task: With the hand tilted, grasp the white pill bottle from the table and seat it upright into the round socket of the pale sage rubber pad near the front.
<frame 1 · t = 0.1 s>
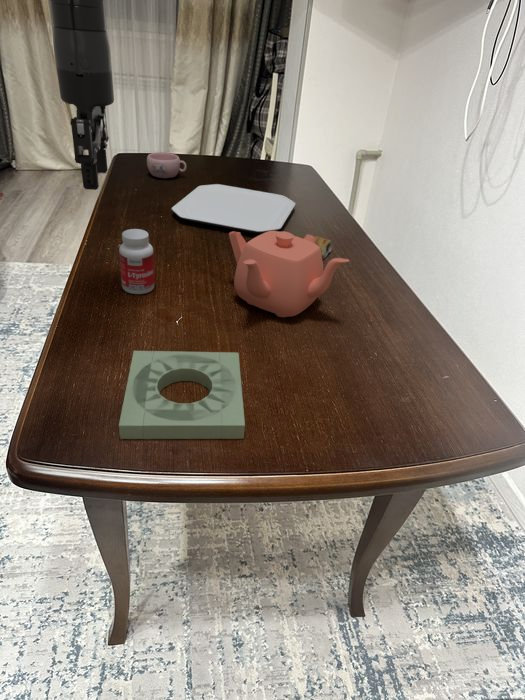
hand: (96, 180, 80), 21 cm above the table, tool pointing down, fingers open, 8 cm apart
teapot: (278, 303, 95), on the table
pastry: (312, 253, 116), on the table
mug: (167, 177, 152), on the table
plate: (235, 213, 132), on the table
socket pad: (185, 398, 71), on the table
pill bottle: (138, 288, 95), on the table
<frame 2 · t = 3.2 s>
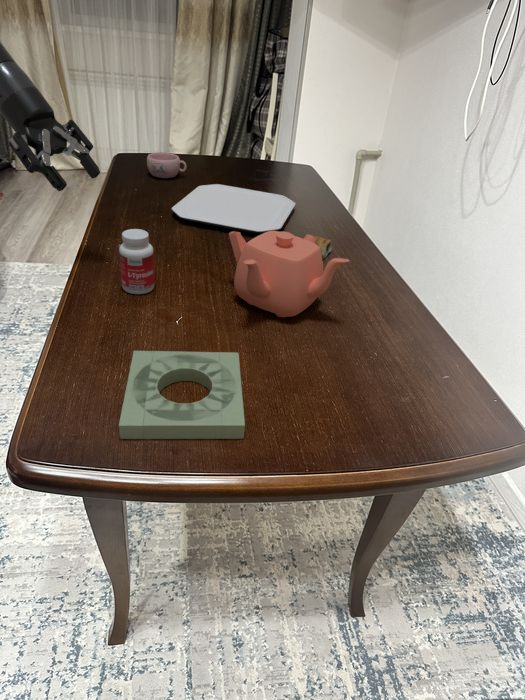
hand: (80, 181, 87), 18 cm above the table, tool tilted 45°, fingers open, 8 cm apart
nothing on the table moved.
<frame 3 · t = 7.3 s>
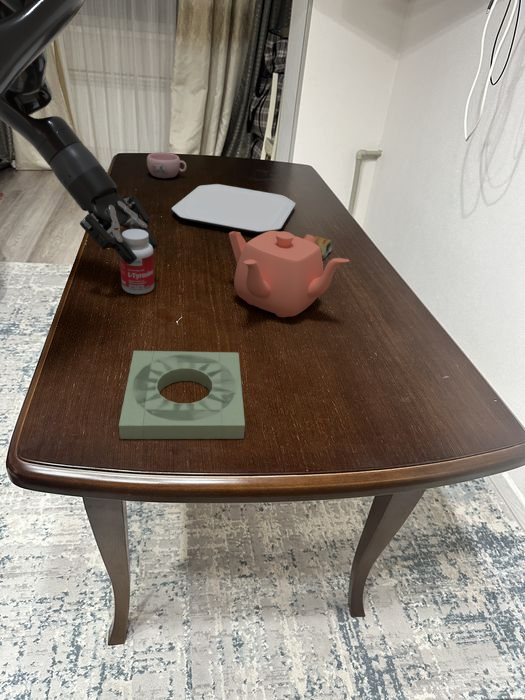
hand: (144, 254, 90), 7 cm above the table, tool tilted 45°, fingers closed on pill bottle, 6 cm apart
pill bottle: (138, 288, 95), on the table, touching gripper
everything else where it was.
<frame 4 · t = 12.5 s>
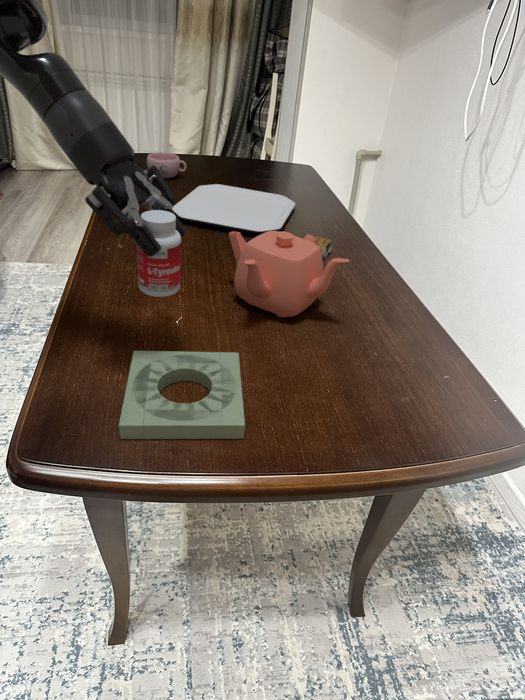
hand: (169, 244, 68), 19 cm above the table, tool tilted 45°, fingers closed on pill bottle, 6 cm apart
pill bottle: (159, 289, 73), point 11 cm above the table, touching gripper
everything else where it was.
when the fingers open (7 cm above the table, at t = 17.8 s): pill bottle stays where it is, resting in socket pad.
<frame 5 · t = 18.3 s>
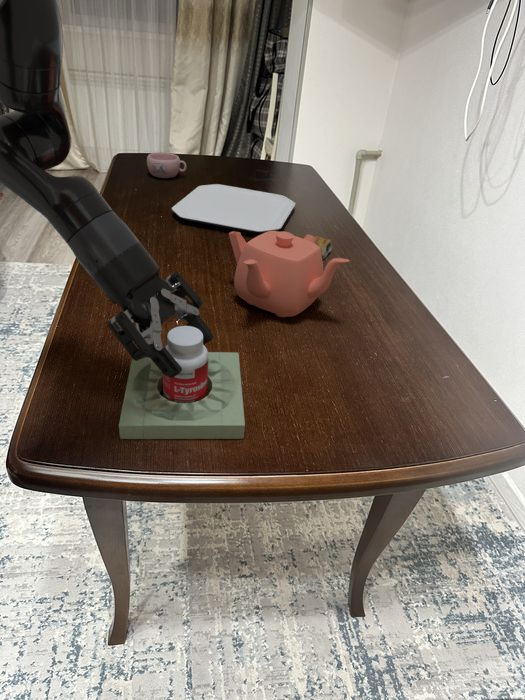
hand: (193, 357, 66), 8 cm above the table, tool tilted 45°, fingers open, 8 cm apart
pill bottle: (185, 399, 71), resting in socket pad
everything else where it was.
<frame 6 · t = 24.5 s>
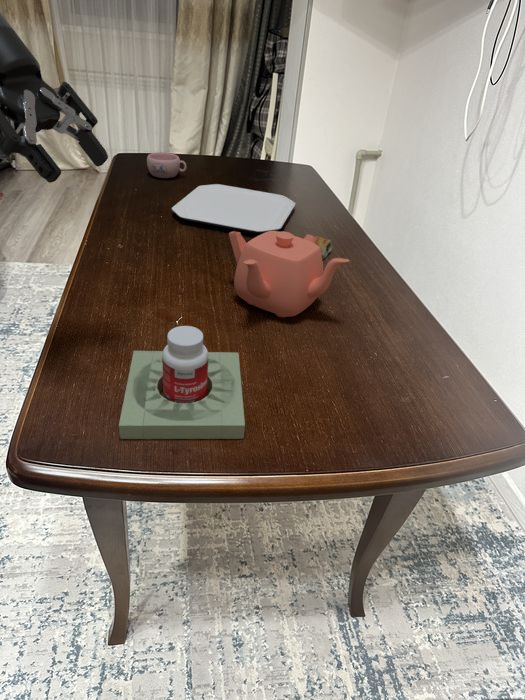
hand: (81, 169, 60), 29 cm above the table, tool tilted 45°, fingers open, 8 cm apart
nothing on the table moved.
at the end: pill bottle 0.0 cm off-centre in the socket pad, point 0.0 cm above the socket pad's base; pill bottle tilted 0°; the gripper is holding nothing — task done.
